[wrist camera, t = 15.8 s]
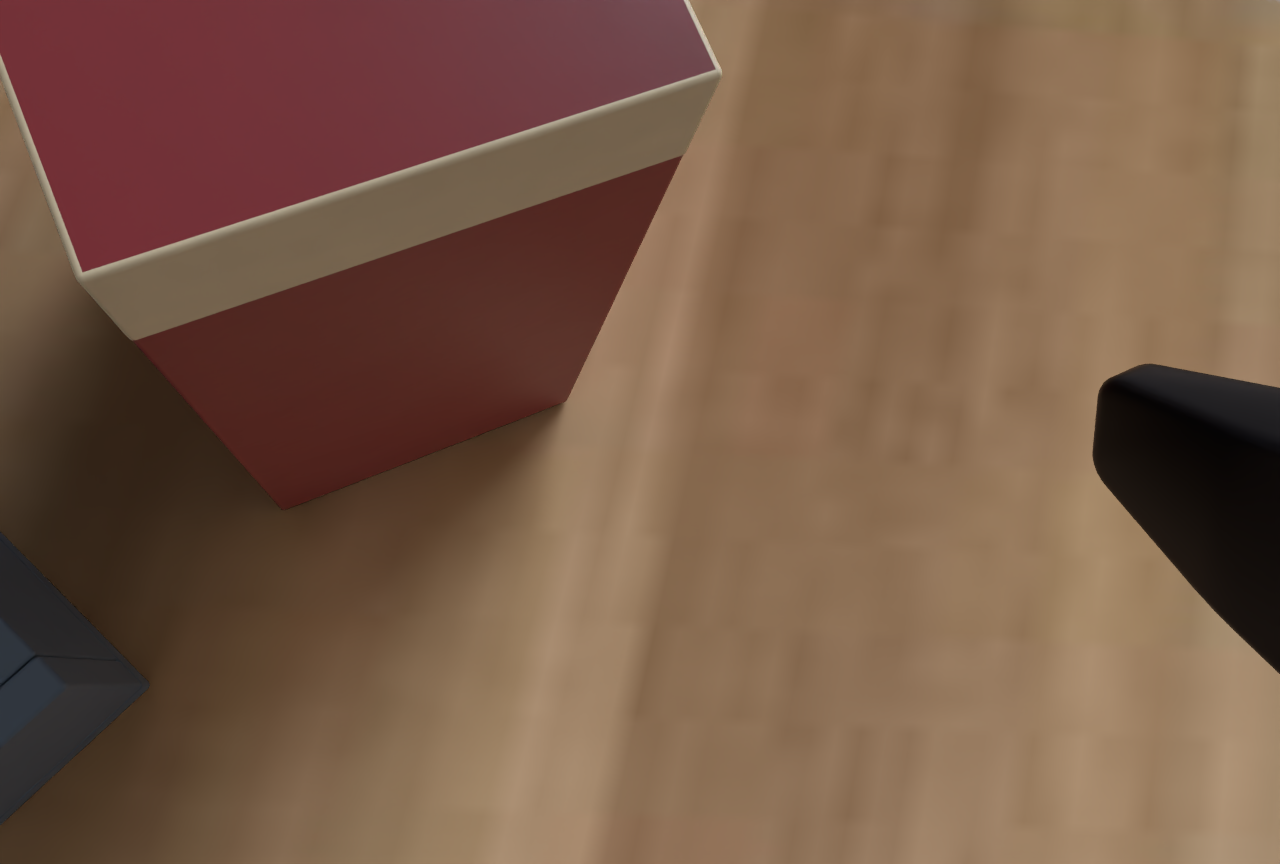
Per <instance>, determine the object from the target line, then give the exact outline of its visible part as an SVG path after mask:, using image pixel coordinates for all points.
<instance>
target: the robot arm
mask: <svg viewBox="0 0 1280 864" xmlns="http://www.w3.org/2000/svg"><path fill="white" fill-rule="evenodd" d="M1093 461H1094V465H1095V468H1096V471H1097V473H1098V475H1099V476H1100V478H1101V480H1102V481H1103V483H1104V484H1105V485H1106V486H1107V488H1108V489H1109V490H1110V491H1111V492H1112V493H1113V495H1114V496H1115V497H1116V498H1117V499H1118V500H1119V502H1120V503H1121V504H1122V505H1123V506H1124V507H1125V509H1126V510H1127V511H1128V512H1129V513H1130V514H1131V516H1132V517H1133V518H1134V519H1135V520H1136V521H1137V523H1138V524H1139V525H1140V526H1141V527H1142V528H1143V529H1144V531H1145V532H1146V533H1147V534H1148V535H1149V536H1150V538H1151V539H1152V540H1153V541H1154V542H1155V543H1156V545H1157V546H1158V547H1159V548H1160V549H1161V550H1162V552H1163V553H1164V554H1165V555H1166V556H1167V557H1168V559H1169V560H1170V561H1171V562H1172V563H1173V564H1174V566H1175V567H1176V568H1177V569H1178V570H1179V571H1180V573H1181V574H1182V575H1183V576H1184V577H1185V578H1186V580H1187V581H1188V582H1189V583H1190V584H1191V585H1192V587H1193V588H1194V589H1195V590H1196V591H1197V592H1198V593H1199V594H1200V595H1201V597H1202V598H1203V599H1204V600H1205V601H1206V602H1207V603H1208V604H1209V605H1210V606H1211V608H1212V609H1213V610H1214V611H1215V612H1216V613H1217V614H1218V615H1219V616H1220V617H1221V618H1222V619H1223V620H1224V621H1225V622H1226V623H1227V624H1228V625H1229V626H1230V627H1231V628H1232V629H1233V630H1234V631H1235V632H1236V633H1237V634H1238V635H1239V636H1240V637H1241V638H1243V639H1244V640H1245V641H1246V642H1247V643H1248V644H1249V645H1250V646H1251V647H1252V648H1253V649H1254V650H1255V651H1256V652H1257V653H1258V654H1259V655H1260V656H1261V657H1262V658H1263V659H1265V660H1266V661H1267V662H1268V663H1269V664H1270V665H1271V666H1272V667H1273V668H1274V669H1275V670H1276V671H1277V672H1278V673H1279V674H1280V388H1277V387H1272V386H1267V385H1261V384H1256V383H1251V382H1246V381H1240V380H1235V379H1230V378H1225V377H1219V376H1214V375H1209V374H1203V373H1198V372H1193V371H1188V370H1182V369H1177V368H1172V367H1167V366H1161V365H1156V364H1143V365H1139V366H1136V367H1134V368H1131V369H1129V370H1127V371H1125V372H1122V373H1120V374H1118V375H1116V376H1113V377H1111V378H1109V379H1108V380H1106V381H1105V382H1104V383H1103V385H1102V387H1101V388H1100V390H1099V394H1098V401H1097V411H1096V422H1095V432H1094V442H1093Z"/></svg>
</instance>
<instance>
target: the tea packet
mask: <svg viewBox="0 0 1280 864" xmlns="http://www.w3.org/2000/svg"><path fill="white" fill-rule="evenodd" d="M721 78H722V70H721V68H720V66H719V64H718V62H717V59H716V57H715V55H714V53H713V51H712V49H711V47H710V45H709V42H708V40H707V38H706V36H705V34H704V32H703V30H702V27H701V25H700V23H699V21H698V19H697V17H696V15H695V13H694V10H693V8H692V6H691V4H690V2H689V0H0V79H1V81H2V84H3V87H4V89H5V92H6V95H7V97H8V100H9V103H10V105H11V108H12V111H13V113H14V116H15V118H16V121H17V124H18V126H19V129H20V132H21V134H22V137H23V140H24V142H25V145H26V148H27V150H28V153H29V156H30V158H31V161H32V164H33V166H34V169H35V172H36V174H37V177H38V180H39V182H40V185H41V188H42V190H43V193H44V196H45V198H46V201H47V204H48V206H49V209H50V212H51V214H52V217H53V220H54V222H55V225H56V228H57V230H58V233H59V236H60V238H61V241H62V244H63V246H64V249H65V252H66V254H67V257H68V260H69V262H70V265H71V267H72V270H73V273H74V275H75V278H76V280H77V281H78V282H79V283H80V284H81V286H82V287H83V288H84V289H85V290H86V291H87V292H88V293H89V295H90V296H91V297H92V298H93V299H94V300H95V301H96V302H97V304H98V305H99V306H100V307H101V308H102V309H103V310H104V311H105V313H106V314H107V315H108V316H109V317H110V318H111V319H112V320H113V322H114V323H115V324H116V325H117V326H118V327H119V328H120V329H121V331H122V332H123V333H124V334H125V335H126V336H127V337H128V338H129V339H130V340H132V341H133V342H134V343H135V344H136V345H137V346H138V348H139V349H140V350H141V351H142V352H143V353H144V354H145V355H146V357H147V358H148V359H149V360H150V361H151V362H152V363H153V365H154V366H155V367H156V368H157V369H158V370H159V371H160V372H161V374H162V375H163V376H164V377H165V378H166V379H167V380H168V382H169V383H170V384H171V385H172V386H173V387H174V388H175V389H176V391H177V392H178V393H179V394H180V395H181V396H182V397H183V398H184V400H185V401H186V402H187V403H188V404H189V405H190V406H191V408H192V409H193V410H194V411H195V412H196V413H197V414H198V415H199V417H200V418H201V419H202V420H203V421H204V422H205V423H206V425H207V426H208V427H209V428H210V429H211V430H212V431H213V432H214V434H215V435H216V436H217V437H218V438H219V439H220V440H221V442H222V443H223V444H224V445H225V446H226V447H227V448H228V449H229V451H230V452H231V453H232V454H233V455H234V456H235V457H236V459H237V460H238V461H239V462H240V463H241V464H242V465H243V466H244V468H245V469H246V470H247V471H248V472H249V473H250V474H251V475H252V477H253V478H254V479H255V480H256V481H257V482H258V483H259V485H260V486H261V487H262V488H263V489H264V490H265V491H266V492H267V494H268V495H269V496H270V497H271V498H272V499H273V500H274V502H275V503H276V504H277V505H278V506H279V507H280V508H281V509H282V510H286V509H289V508H291V507H294V506H296V505H299V504H301V503H304V502H307V501H309V500H312V499H314V498H317V497H320V496H322V495H325V494H327V493H330V492H333V491H335V490H338V489H340V488H343V487H345V486H348V485H351V484H353V483H356V482H358V481H361V480H364V479H366V478H369V477H371V476H374V475H377V474H379V473H382V472H384V471H387V470H389V469H392V468H395V467H397V466H400V465H402V464H405V463H408V462H410V461H413V460H415V459H418V458H421V457H423V456H426V455H428V454H431V453H433V452H436V451H439V450H441V449H444V448H446V447H449V446H452V445H454V444H457V443H459V442H462V441H465V440H467V439H470V438H472V437H475V436H477V435H480V434H483V433H485V432H488V431H490V430H493V429H496V428H498V427H501V426H503V425H506V424H509V423H511V422H514V421H516V420H519V419H521V418H524V417H527V416H529V415H532V414H534V413H537V412H540V411H542V410H545V409H547V408H550V407H553V406H555V405H558V404H560V403H563V402H565V401H566V400H567V399H568V397H569V395H570V393H571V390H572V388H573V386H574V384H575V382H576V380H577V378H578V376H579V374H580V371H581V369H582V367H583V365H584V363H585V361H586V359H587V357H588V355H589V352H590V350H591V348H592V346H593V344H594V342H595V340H596V338H597V336H598V333H599V331H600V329H601V327H602V325H603V323H604V321H605V319H606V317H607V314H608V312H609V310H610V308H611V306H612V304H613V302H614V300H615V298H616V295H617V293H618V291H619V289H620V287H621V285H622V283H623V281H624V279H625V276H626V274H627V272H628V270H629V268H630V266H631V264H632V262H633V260H634V257H635V255H636V253H637V251H638V249H639V247H640V245H641V243H642V241H643V238H644V236H645V234H646V232H647V230H648V228H649V226H650V224H651V222H652V219H653V217H654V215H655V213H656V211H657V209H658V207H659V205H660V203H661V200H662V198H663V196H664V194H665V192H666V190H667V188H668V186H669V184H670V181H671V179H672V177H673V175H674V173H675V171H676V169H677V167H678V165H679V163H680V160H681V158H682V156H683V155H684V154H685V153H686V151H687V149H688V147H689V145H690V143H691V141H692V138H693V136H694V134H695V132H696V130H697V128H698V126H699V124H700V122H701V120H702V118H703V115H704V113H705V111H706V109H707V107H708V105H709V103H710V101H711V99H712V97H713V94H714V92H715V90H716V88H717V86H718V84H719V82H720V80H721Z"/></svg>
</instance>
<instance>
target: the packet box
mask: <svg viewBox="0 0 1280 864" xmlns="http://www.w3.org/2000/svg"><path fill="white" fill-rule="evenodd" d="M149 686H150V685H149V682H148V681H147V680H146V679H145V678H144V677H143V676H142V675H141V674H140V673H139V672H138V671H137V670H136V669H135V668H134V667H133V666H132V665H131V664H130V663H129V662H128V661H127V660H126V659H125V658H124V657H123V656H122V655H121V654H120V653H119V652H118V651H117V650H116V648H115V647H114V646H113V645H112V644H111V643H110V642H109V641H108V640H107V639H106V638H105V637H104V636H103V635H102V634H101V633H100V632H99V631H98V630H97V629H96V628H95V627H94V626H93V625H92V624H91V623H90V622H89V621H88V620H87V619H86V618H85V617H84V616H83V615H82V614H81V613H80V612H79V611H78V610H77V609H76V608H75V607H74V606H73V605H72V604H71V603H70V602H69V601H68V600H67V599H66V598H65V597H64V596H63V595H62V594H61V593H60V592H59V591H58V590H57V589H56V588H55V587H54V586H53V585H52V584H51V583H50V582H49V580H48V579H47V578H46V577H45V576H44V575H43V574H42V573H41V572H40V571H39V570H38V569H37V568H36V567H35V566H34V565H33V564H32V563H31V562H30V561H29V560H28V559H27V558H26V557H25V556H24V555H23V554H22V553H21V552H20V551H19V550H18V549H17V548H16V547H15V546H14V545H13V544H12V543H11V542H10V541H9V540H8V539H7V538H6V537H5V536H4V535H3V534H2V533H1V532H0V825H1V824H2V823H3V822H4V821H5V820H6V819H8V818H9V817H10V816H11V815H12V814H13V813H14V812H15V811H16V810H17V809H18V808H19V807H20V806H22V805H23V804H24V803H25V802H26V801H27V800H28V799H29V798H30V797H31V796H32V795H33V794H35V793H36V792H37V791H38V790H39V789H40V788H41V787H42V786H43V785H44V784H45V783H46V782H48V781H49V780H50V779H51V778H52V777H53V776H54V775H55V774H56V773H57V772H58V771H59V770H61V769H62V768H63V767H64V766H65V765H66V764H67V763H68V762H69V761H70V760H71V759H72V758H73V757H75V756H76V755H77V754H78V753H79V752H80V751H81V750H82V749H83V748H84V747H85V746H86V745H88V744H89V743H90V742H91V741H92V740H93V739H94V738H95V737H96V736H97V735H98V734H99V733H101V732H102V731H103V730H104V729H105V728H106V727H107V726H108V725H109V724H110V723H111V722H112V721H114V720H115V719H116V718H117V717H118V716H119V715H120V714H121V713H122V712H123V711H124V710H125V709H126V708H128V707H129V706H130V705H131V704H132V703H133V702H134V701H135V700H136V699H137V698H138V697H139V696H141V695H142V694H143V693H144V692H145V691H146V690H147V689H148V688H149Z"/></svg>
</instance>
